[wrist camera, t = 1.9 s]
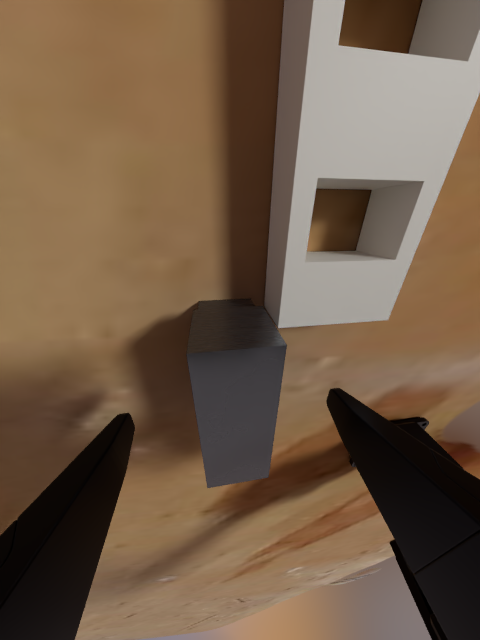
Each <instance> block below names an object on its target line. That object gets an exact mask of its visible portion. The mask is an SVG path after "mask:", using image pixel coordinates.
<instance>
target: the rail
mask: <svg viewBox="0 0 480 640" xmlns="http://www.w3.org/2000/svg"><path fill="white" fill-rule="evenodd" d="M344 5H345V0H284V12H283V27H282V43H281V58H280V73H279V88H278V104H277V119H276V134H275V149H274V165H273V180H272V195H271V210H270V226H269V241H268V256H267V271H266V287H265V302H264V307H265V308H266V310H267V311H268V313H269V314H270V316H271V318H272V319H273V321H274V322H275V324H276V326H277V327H278V328H286V327H300V326H314V325H327V324H341V323H355V322H368V321H382V320H388V319H389V316H390V314H391V311H392V309H393V306H394V304H395V301H396V299H397V296H398V294H399V291H400V289H401V286H402V284H403V281H404V279H405V276H406V274H407V271H408V269H409V266H410V264H411V262H412V259H413V257H414V254H415V252H416V249H417V247H418V244H419V242H420V239H421V237H422V234H423V232H424V229H425V227H426V224H427V222H428V219H429V217H430V214H431V212H432V210H433V207H434V205H435V202H436V200H437V197H438V195H439V192H440V190H441V187H442V185H443V182H444V180H445V177H446V175H447V172H448V170H449V167H450V165H451V162H452V160H453V157H454V155H455V153H456V150H457V148H458V145H459V143H460V140H461V138H462V135H463V133H464V130H465V128H466V125H467V123H468V120H469V118H470V115H471V113H472V110H473V108H474V105H475V103H476V101H477V98H478V96H479V93H480V0H422V4H421V8H420V12H419V15H418V19H417V23H416V27H415V30H414V34H413V38H412V42H411V45H410V49H409V53H408V54H404V53H396V52H388V51H380V50H372V49H364V48H356V47H348V46H340V45H338V44H339V37H340V31H341V24H342V18H343V11H344ZM316 189H360V190H372V192H371V195H370V199H369V203H368V207H367V211H366V214H365V218H364V222H363V226H362V229H361V233H360V237H359V241H358V244H357V248H356V251H323V252H306V251H307V245H308V238H309V232H310V225H311V219H312V212H313V206H314V199H315V193H316Z"/></svg>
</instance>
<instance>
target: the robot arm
mask: <svg viewBox="0 0 480 640" xmlns="http://www.w3.org/2000/svg"><path fill="white" fill-rule="evenodd" d="M327 406H328V409H329V411H330V413H331V416H332V418H333V420H334V423H335V425H336V428H337V430H338V432H339V435H340V437H341V439H342V441H343V443H344V445H345V447H346V449H347V450H348V452H349V454H350V456H351V459H350V461H349V462H350V464H351V466H352V467H357V469H358V471H359V473H360V475H361V477H362V479H363V480H364V482H365V484H366V486H367V488H368V490H369V492H370V494H371V495H372V497H373V499H374V501H375V503H376V505H377V507H378V509H379V511H380V512H381V514H382V516H383V518H384V520H385V522H386V524H387V526H388V527H389V529H390V531H391V533H392V535H393V537H394V540H392V541H390V545H391V547H392V549H393V551H394V554H395V556H396V560H397V562H398V565H399V567H400V569H401V571H402V573H403V576H404V578H405V580H406V583H407V585H408V587H409V589H410V591H411V594H412V596H413V598H414V600H415V602H416V605H417V607H418V609H419V612H420V614H421V616H422V618H423V620H424V623H425V625H426V627H427V630H428V632H429V634H430V636H431V638H432V640H480V479H478V478H476V477H475V476H473V475H471V474H470V473H468V472H467V471H465V470H464V469H463V468H462V467H461V466H460V465H459V464H458V463H457V462H456V461H455V460H454V459H453V458H452V457H451V456H450V455H449V454H448V453H447V452H446V451H445V450H444V449H443V448H442V447H441V446H440V445H439V444H438V443H437V442H436V441H435V440H434V439H433V438H432V437H431V436H430V435H429V434H428V433H427V432H426V431H425V428H426V427H427V425H428V424H429V421H428V420H426V419H425V418H416V419H409V420H403V421H396V422H390V421H388V420H387V419H385V418H384V417H382V416H381V415H379V414H378V413H376V412H375V411H373V410H372V409H370V408H369V407H367V406H366V405H364V404H363V403H361V402H360V401H358V400H357V399H355V398H354V397H352V396H351V395H349V394H348V393H346V392H345V391H343V390H342V389H340V388H333V389H330V391H329V394H328V397H327ZM134 431H135V425H134V422H133V420H132V417H131V415H130V414H129V413H123V414H118V415H117V416H116V417H115V418H114V419H113V420H112V421H111V422H110V423H109V424H108V425H107V426H106V427H105V428H104V429H103V430H102V431H101V432H100V433H99V434H98V435H97V436H96V438H95V439H94V440H93V441H92V442H91V443H90V444H89V445H88V446H87V447H86V448H85V449H84V450H83V451H82V452H81V453H80V454H79V455H78V456H77V457H76V458H75V459H74V460H73V461H72V462H71V463H70V464H69V465H68V466H67V467H66V468H65V470H64V471H63V472H62V473H61V474H60V475H59V476H58V477H57V478H56V479H55V480H54V481H53V482H52V483H51V484H50V485H49V486H48V487H47V488H46V489H45V490H44V491H43V492H42V493H41V494H40V495H39V496H38V497H37V498H36V499H35V500H34V502H33V503H32V504H31V505H30V506H29V507H28V508H27V509H26V510H25V511H24V512H23V513H22V514H21V515H20V516H19V517H18V519H17V520H15V521H14V522H13V523H12V524H11V525H10V526H9V527H8V528H7V529H6V530H5V531H4V532H3V533H2V534H1V535H0V640H75V637H76V634H77V630H78V627H79V624H80V621H81V617H82V614H83V611H84V608H85V604H86V601H87V598H88V595H89V591H90V588H91V585H92V581H93V578H94V575H95V572H96V568H97V565H98V562H99V559H100V555H101V552H102V549H103V546H104V542H105V539H106V536H107V533H108V529H109V526H110V523H111V520H112V516H113V513H114V510H115V507H116V503H117V500H118V497H119V493H120V490H121V487H122V484H123V480H124V477H125V473H126V470H127V465H128V460H129V455H130V450H131V446H132V441H133V436H134Z"/></svg>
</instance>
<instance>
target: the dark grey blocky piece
mask: <svg viewBox="0 0 480 640" xmlns="http://www.w3.org/2000/svg"><path fill="white" fill-rule="evenodd" d="M286 347H287V345H286V343H285V341H284V340H283V338H282V337H281V335H280V333H279V332H278V330H277V328H276V327H275V325H274V324H273V322H272V320H271V319H270V317H269V315H268V314H267V312H266V311H265V309H264V307H263V306H254V304H253V302H252V300H251V298H250V299H231V300H212V301H199V305H198V310H193V315H192V321H191V327H190V334H189V340H188V347H187V353H186V355H187V361H188V367H189V374H190V380H191V386H192V393H193V399H194V405H195V412H196V418H197V424H198V431H199V437H200V443H201V450H202V456H203V462H204V469H205V475H206V481H207V488H211V487H216V486H222V485H228V484H234V483H239V482H245V481H251V480H256V479H262V478H268V477H269V470H270V462H271V455H272V448H273V441H274V434H275V426H276V419H277V412H278V405H279V397H280V390H281V383H282V376H283V369H284V361H285V354H286Z"/></svg>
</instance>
